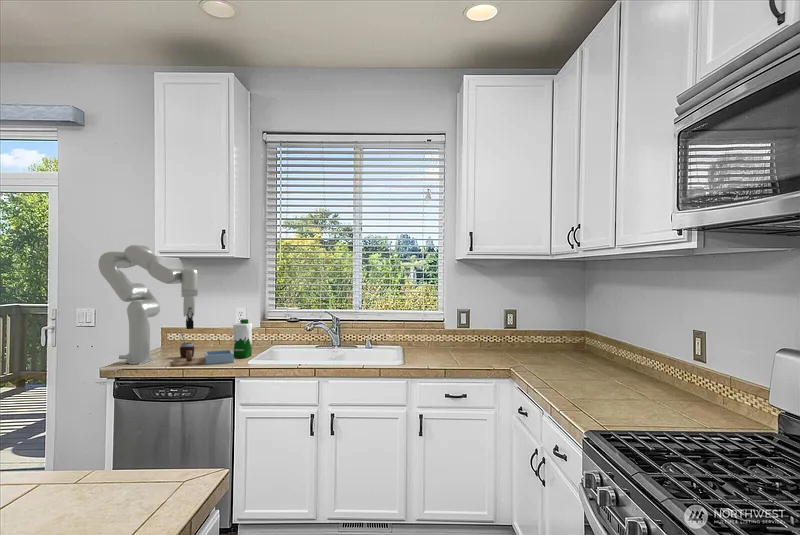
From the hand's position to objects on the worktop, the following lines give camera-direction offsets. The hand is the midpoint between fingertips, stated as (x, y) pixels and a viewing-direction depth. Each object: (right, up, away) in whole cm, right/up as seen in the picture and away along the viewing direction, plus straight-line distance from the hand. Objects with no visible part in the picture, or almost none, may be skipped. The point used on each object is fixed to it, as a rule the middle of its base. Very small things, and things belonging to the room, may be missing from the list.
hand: (189, 327), depth 256 cm
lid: (0, -17, 0) cm, 17 cm away
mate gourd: (-8, -18, +16) cm, 26 cm away
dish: (+13, -18, +5) cm, 23 cm away
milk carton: (+20, -18, +21) cm, 34 cm away
